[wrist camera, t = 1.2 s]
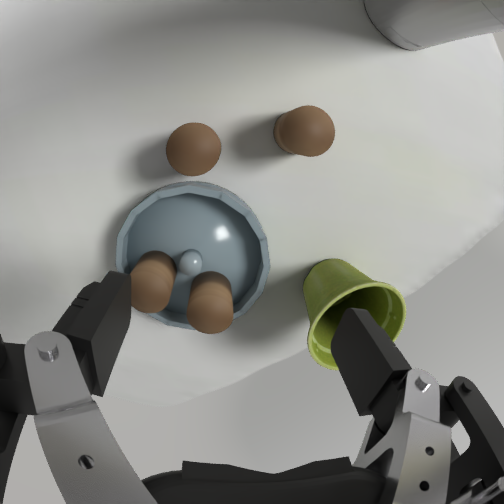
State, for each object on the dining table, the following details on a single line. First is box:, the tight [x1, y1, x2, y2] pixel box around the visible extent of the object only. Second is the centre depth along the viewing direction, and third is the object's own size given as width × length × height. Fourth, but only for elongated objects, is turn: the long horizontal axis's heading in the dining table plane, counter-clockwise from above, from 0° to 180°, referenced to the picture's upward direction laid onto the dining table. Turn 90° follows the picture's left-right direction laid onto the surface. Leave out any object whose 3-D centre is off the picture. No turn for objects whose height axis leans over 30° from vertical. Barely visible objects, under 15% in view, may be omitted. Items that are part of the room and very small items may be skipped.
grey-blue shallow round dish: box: [116, 181, 270, 330], centre depth 26 cm, size 14×14×3 cm
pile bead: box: [274, 106, 335, 157], centre depth 21 cm, size 4×4×4 cm
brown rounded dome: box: [166, 123, 221, 176], centre depth 21 cm, size 4×4×4 cm
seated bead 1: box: [130, 250, 177, 313], centre depth 24 cm, size 4×4×4 cm
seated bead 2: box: [186, 271, 233, 334], centre depth 25 cm, size 4×4×4 cm
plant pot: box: [303, 259, 406, 370], centre depth 26 cm, size 9×9×9 cm
